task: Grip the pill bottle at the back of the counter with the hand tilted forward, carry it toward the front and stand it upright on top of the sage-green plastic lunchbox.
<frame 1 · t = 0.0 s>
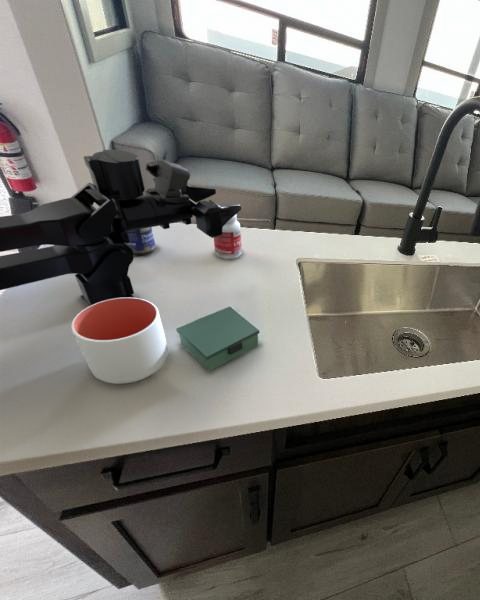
hand: (227, 198, 73), 17 cm above the worktop, tool horizontal, fingers open, 9 cm apart
lunchbox: (221, 344, 61), on the worktop
cup: (133, 363, 54), on the worktop
pill bottle: (228, 253, 85), on the worktop
pill bottle 2: (140, 250, 78), on the worktop
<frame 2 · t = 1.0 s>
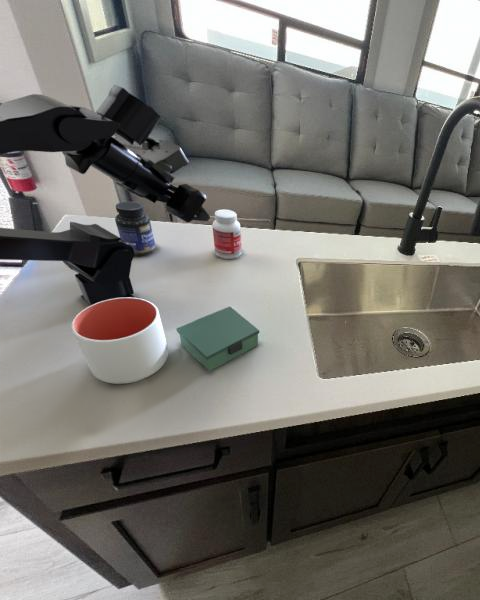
hand: (193, 210, 71), 14 cm above the worktop, tool tilted 45°, fingers open, 9 cm apart
nothing on the worktop moved.
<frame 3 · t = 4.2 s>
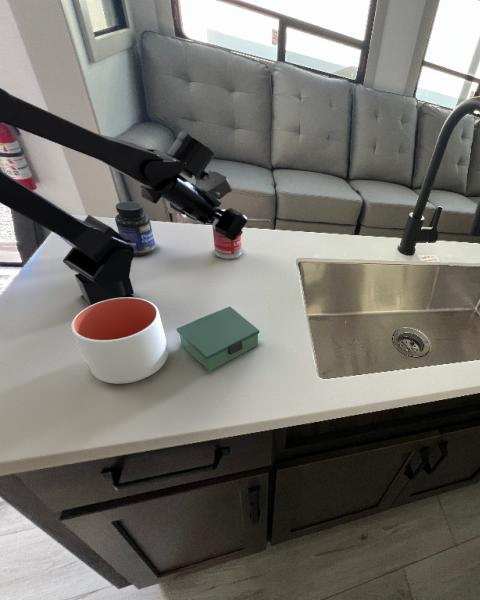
hand: (231, 228, 82), 7 cm above the worktop, tool tilted 45°, fingers closed on pill bottle, 6 cm apart
pill bottle: (228, 253, 85), on the worktop, touching gripper
everything else where it was.
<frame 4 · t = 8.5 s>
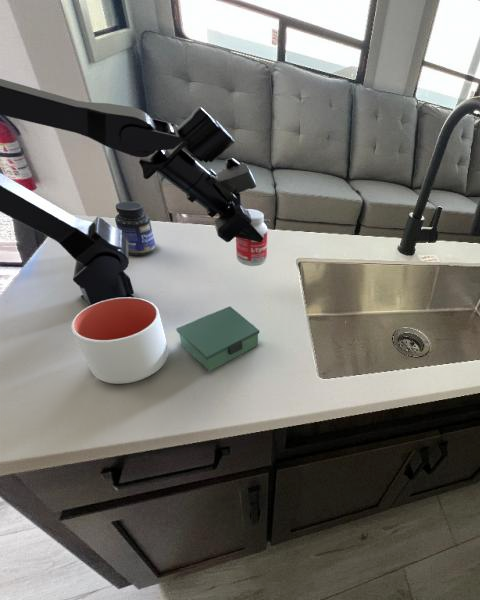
hand: (258, 233, 70), 13 cm above the worktop, tool tilted 45°, fingers closed on pill bottle, 6 cm apart
pill bottle: (252, 260, 74), point 7 cm above the worktop, touching gripper
everything else where it was.
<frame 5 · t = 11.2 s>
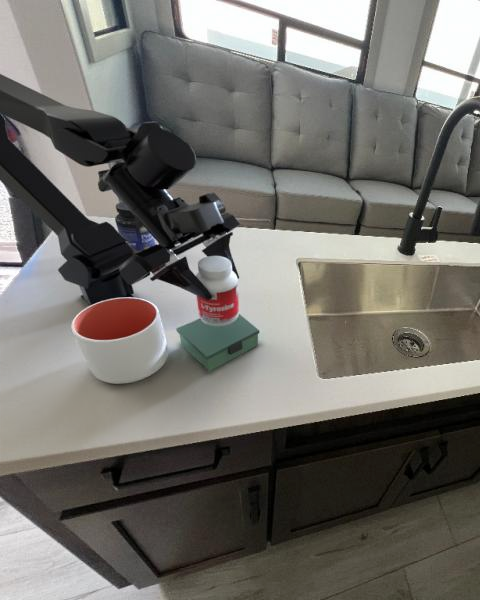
hand: (224, 288, 54), 13 cm above the worktop, tool tilted 45°, fingers closed on pill bottle, 6 cm apart
pill bottle: (220, 316, 58), point 7 cm above the worktop, touching gripper
everything else where it was.
when the fingers open (11 cm above the worktop, at t = 13.1 s): pill bottle stays where it is, resting on lunchbox.
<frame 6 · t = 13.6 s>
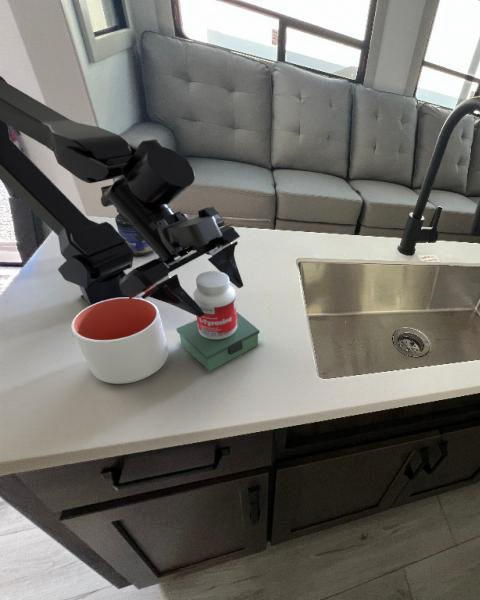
hand: (223, 300, 55), 11 cm above the worktop, tool tilted 45°, fingers open, 9 cm apart
pill bottle: (218, 329, 59), point 4 cm above the worktop, touching lunchbox
everything else where it was.
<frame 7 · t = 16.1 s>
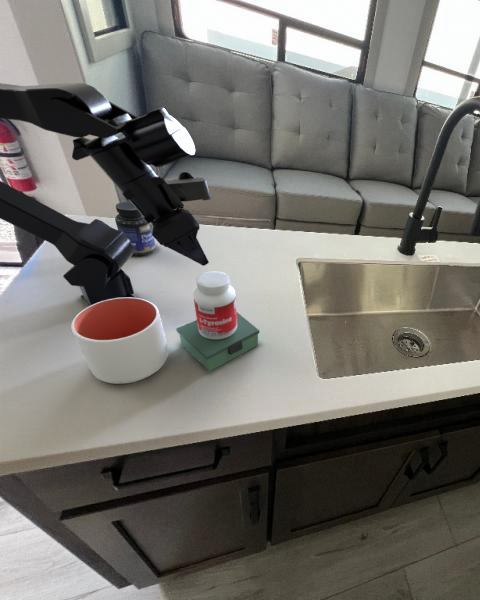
hand: (201, 256, 61), 12 cm above the worktop, tool tilted 30°, fingers open, 9 cm apart
nothing on the worktop moved.
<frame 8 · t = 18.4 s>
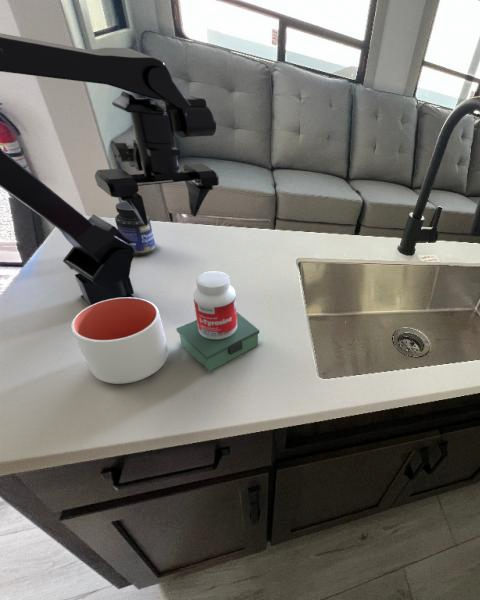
hand: (170, 220, 67), 13 cm above the worktop, tool pointing down, fingers open, 9 cm apart
nothing on the worktop moved.
at the end: pill bottle inside the target area on the lunchbox (0.1 cm from its centre), point 3.8 cm above the lunchbox's base; pill bottle tilted 0°; the gripper is holding nothing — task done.
